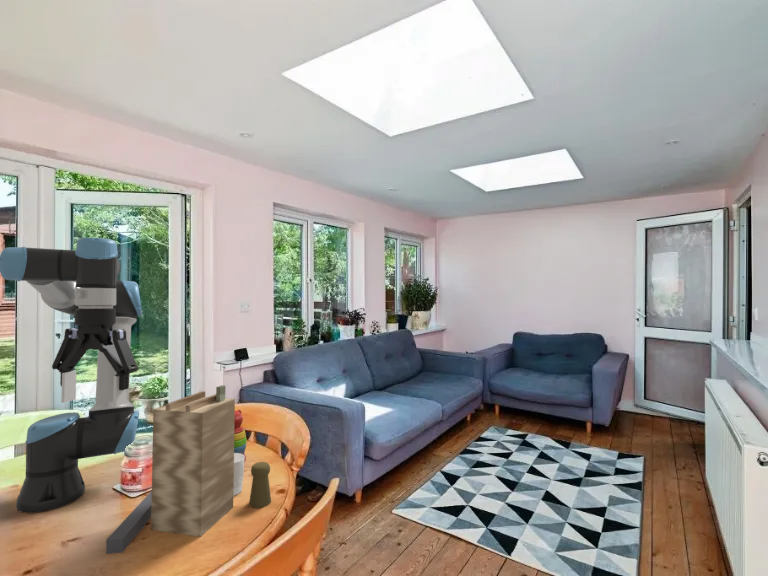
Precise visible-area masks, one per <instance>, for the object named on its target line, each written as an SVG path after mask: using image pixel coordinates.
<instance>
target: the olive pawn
mask: <svg viewBox="0 0 768 576" xmlns="http://www.w3.org/2000/svg"><path fill="white" fill-rule="evenodd" d="M270 472H271V466H270V464H269V463H268V462H266V461H259V462H256V463H254V464H253V465H252V466H251V470H250V473H251V476H252V480H251V482H252V483H251V489H250V497H249V502H248V506H249V507H250V508H252V509H262V508H265V507H268V506H269V505H270V504H271V503H272V497H271V488H270V481H269V475H270Z"/></svg>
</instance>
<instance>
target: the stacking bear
mask: <svg viewBox="0 0 768 576" xmlns="http://www.w3.org/2000/svg"><path fill="white" fill-rule="evenodd" d="M243 420H244V418H243V414H242V410H241V409H237V410H235V421H234V453H240V454H243V455H244V456H245V457H244V463H245V462H246V460H247V458H246V457H247V456H246V454H245V451H246V448H247V441H248V440H247V436H246V430H245V428H244V427H243V426H242V425H243Z"/></svg>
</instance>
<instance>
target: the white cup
mask: <svg viewBox="0 0 768 576" xmlns="http://www.w3.org/2000/svg"><path fill="white" fill-rule="evenodd" d="M245 456H246V455H245ZM245 456H244V455H243V454H240V453H234V487H233V497H235V496H237V495H239V494H240V493H241V492H242V491H243V490H242V489H243V481H244V472H245V471H244V469H245V462H244V457H245Z"/></svg>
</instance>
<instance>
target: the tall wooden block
mask: <svg viewBox="0 0 768 576" xmlns="http://www.w3.org/2000/svg"><path fill="white" fill-rule="evenodd" d="M215 391H216V392H215V394H212V395H210V396H206V391H202V390H201V391H199V392H196V393H193V394H191V395H188V396H187V395H186V396H185V397H181V398H179V399H176V400H174V401H171V402H169V403H165V404H164V405H162V406H159V407H156V408H154V409H153V410H152V414H153V415H152V417H153V418H152V457H151V458H152V464H151V467H152V468H151V491H152V505H151V518H150V530H151V531H158V532H163V533H172V534H179V535H187V536H193V537H200V538H201V537H202V536H203V535H204V534H206V533H207V532H208V531H209V530H210V529H211V528H212V527H214V525H216V524H217V522H219V521H220V520H221V519H222V518H223V517H224V516H226V515H227V513H229V512H230V511H231V510H232V509H233V508H234V496H233V487H234V421H235V411H236V409H235V407H236V399H235V398H229V397H227V398H226V385H225V384H224V385H223V384H221V385H218V386H215ZM206 531H207V532H206Z"/></svg>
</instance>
